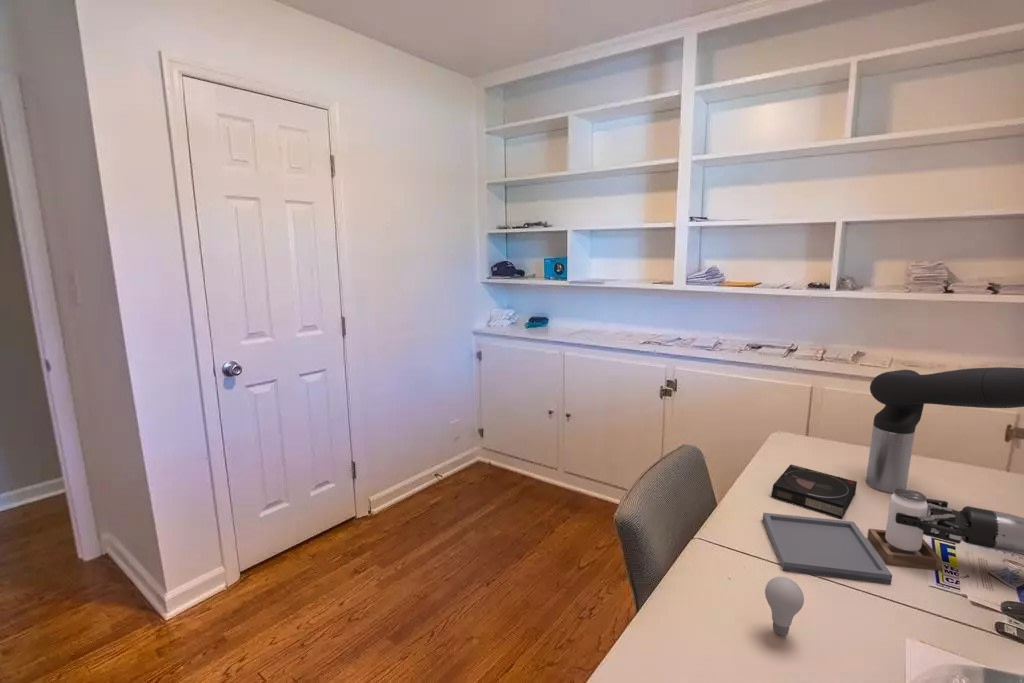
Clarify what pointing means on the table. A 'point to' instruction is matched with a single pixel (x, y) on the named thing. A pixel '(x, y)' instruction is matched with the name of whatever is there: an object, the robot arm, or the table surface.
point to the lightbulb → (783, 602)
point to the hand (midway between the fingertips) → (894, 510)
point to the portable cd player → (815, 490)
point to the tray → (824, 548)
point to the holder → (905, 560)
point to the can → (909, 505)
